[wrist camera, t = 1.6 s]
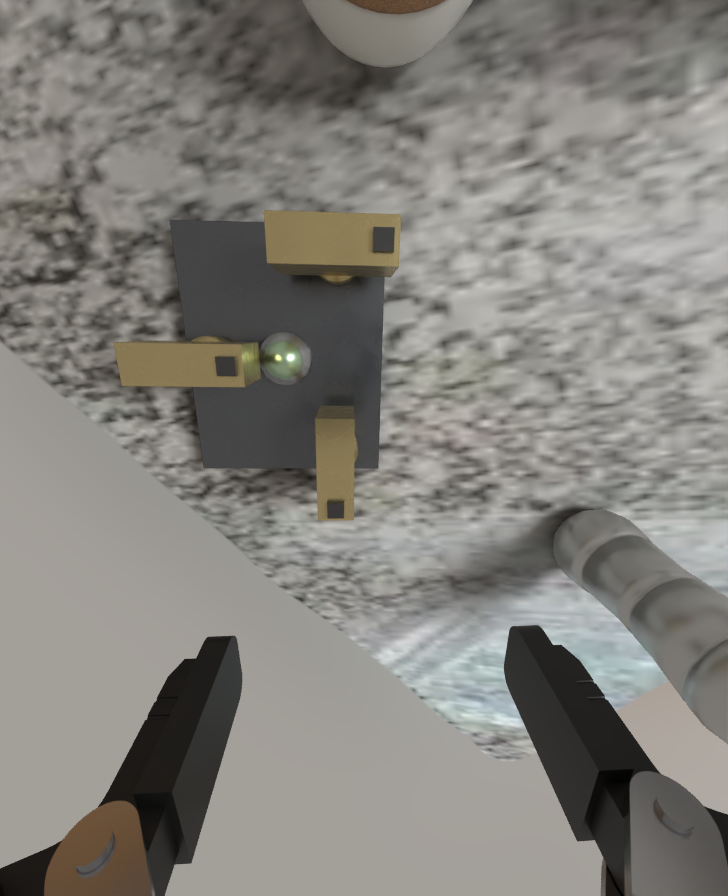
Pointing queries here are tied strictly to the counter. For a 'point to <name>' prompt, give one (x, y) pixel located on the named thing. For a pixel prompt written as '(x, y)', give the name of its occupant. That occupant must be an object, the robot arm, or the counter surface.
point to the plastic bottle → (654, 606)
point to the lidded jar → (386, 27)
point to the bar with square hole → (188, 363)
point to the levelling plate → (278, 348)
